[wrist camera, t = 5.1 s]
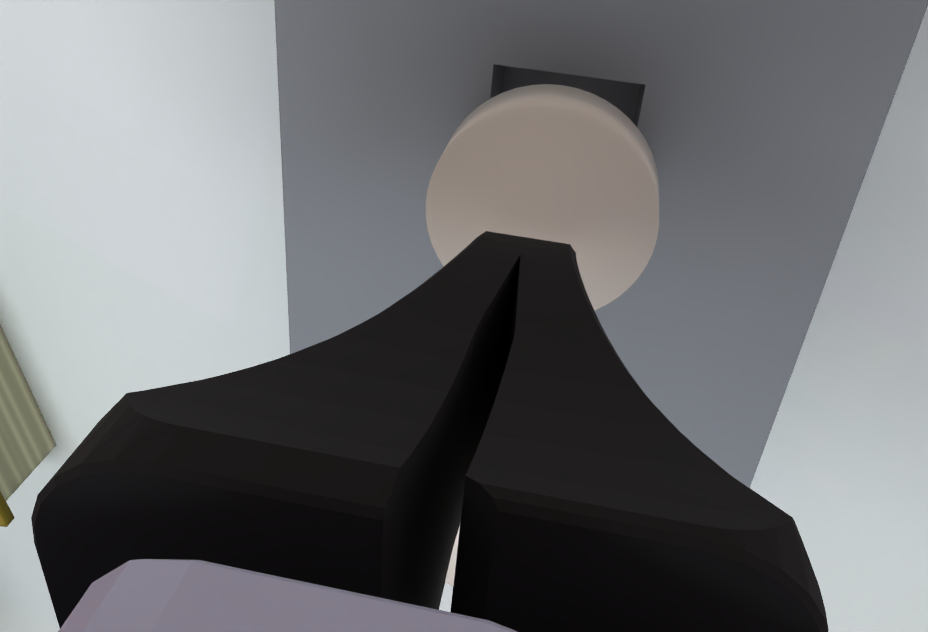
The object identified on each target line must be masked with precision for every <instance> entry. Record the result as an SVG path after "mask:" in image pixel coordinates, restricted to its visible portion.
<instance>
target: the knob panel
mask: <svg viewBox="0 0 928 632" xmlns="http://www.w3.org/2000/svg"><path fill="white" fill-rule="evenodd" d="M927 6H928V0H275V21H276V44H277V66H278V89H279V111H280V134H281V156H282V179H283V201H284V224H285V246H286V268H287V291H288V313H289V336H290V354H292V353H295V352H297V351H300V350H302V349H305V348H307V347H310V346H312V345H315V344H317V343H320V342H323V341H325V340H328V339H330V338H332V337H334V336H337V335H339V334H341V333H343V332H345V331H347V330H349V329H351V328H353V327H355V326H357V325H359V324H361V323H363V322H365V321H366V320H368V319H370V318H372V317H374V316H375V315H377V314H379V313H380V312H382V311H384V310H385V309H387V308H388V307H390V306H391V305H392V304H394V303H395V302H397V301H398V300H400V299H401V298H403V297H404V296H406V295H407V294H409V293H410V292H412V291H413V290H414V289H416V288H417V287H418V286H420V285H421V284H422V283H424V282H425V281H426V280H427V279H429V278H430V277H431V276H433V275H434V274H435V273H436V272H438V271H439V270H440V269H441V268H443V267H444V266H443V265H442V263H441V262H440V260H439V258H438V257H437V255H436V252H435V250H434V248H433V246H432V243H431V240H430V236H429V233H428V229H427V222H426V197H427V190H428V186H429V182H430V179H431V176H432V174H433V171H434V169H435V167H436V165H437V163H438V161H439V159H440V157H441V155H442V154H443V152H444V150H445V148H446V146H447V144H448V143H449V141H450V139H451V137H452V136H453V134H454V133H455V131H456V129H457V128H458V126H459V125H460V124H461V123H462V122H463V121H464V119H465V118H466V117H467V116H468V115H469V114H470V113H471V112H472V111H474V110H475V109H476V108H477V107H478V106H480V105H481V104H483V103H484V102H486V101H487V100H489V99H490V98H492V97H495V96H497V95H499V94H501V93H503V92H506V91H509V90H512V89H515V88H518V87H524V86H529V85H539V84H553V85H564V86H569V87H574V88H578V89H581V90H584V91H587V92H590V93H593V94H595V95H597V96H599V97H601V98H603V99H605V100H606V101H608V102H609V103H611V104H612V105H614V106H615V107H617V108H618V109H619V110H620V111H622V112H623V113H624V114H625V115H626V116H627V117H628V118H629V119H630V120H631V121H632V122H633V123H634V124H635V126H636V127H637V128H638V129H639V130H640V132H641V134H642V135H643V137H644V138H645V140H646V141H647V143H648V146H649V148H650V150H651V152H652V154H653V157H654V161H655V164H656V168H657V174H658V181H659V229H658V236H657V241H656V244H655V247H654V250H653V253H652V255H651V258H650V260H649V262H648V264H647V266H646V267H645V269H644V270H643V272H642V273H641V275H640V276H639V278H638V279H637V280H636V281H635V282H634V283H633V284H632V285H631V287H630V288H628V289H627V290H626V291H625V292H624V293H623V294H622V295H620V296H619V297H618V298H616V299H615V300H613V301H612V302H610V303H609V304H607V305H605V306H603V307H601V308H599V309H597V310H595V313H596V315H597V317H598V319H599V321H600V324H601V326H602V327H603V329H604V331H605V333H606V335H607V337H608V339H609V340H610V342H611V344H612V346H613V347H614V349H615V351H616V352H617V354H618V356H619V357H620V359H621V361H622V362H623V364H624V365H625V367H626V368H627V370H628V371H629V373H630V374H631V376H632V377H633V378H634V380H635V381H636V382H637V384H638V385H639V386H640V388H641V389H642V390H643V392H644V393H645V394H646V396H647V397H648V398H649V399H650V400H651V402H652V403H653V404H654V405H655V406H656V407H657V408H658V409H659V410H660V411H661V412H662V413H663V414H664V415H665V417H666V418H667V419H668V420H669V421H670V422H671V423H672V424H673V425H674V426H675V427H676V428H677V429H678V430H679V431H680V432H681V433H682V434H683V435H684V436H685V437H686V438H688V439H689V440H690V441H691V442H692V443H693V444H694V445H695V446H696V447H697V448H698V449H700V450H701V451H702V452H703V453H704V454H706V455H707V456H708V457H709V458H710V459H712V460H713V461H714V462H715V463H717V464H718V465H719V466H720V467H721V468H723V469H724V470H725V471H726V472H727V473H729V474H730V475H731V476H733V477H734V478H735V479H737V480H738V481H740V482H741V483H743V484H744V485H746V486H747V487H748V488H750V485H751V482H752V480H753V477H754V474H755V472H756V469H757V466H758V463H759V461H760V458H761V455H762V453H763V450H764V447H765V444H766V442H767V439H768V436H769V434H770V431H771V428H772V425H773V423H774V420H775V417H776V415H777V412H778V409H779V407H780V404H781V401H782V398H783V396H784V393H785V390H786V388H787V385H788V382H789V379H790V377H791V374H792V371H793V369H794V366H795V363H796V360H797V358H798V355H799V352H800V350H801V347H802V344H803V341H804V339H805V336H806V333H807V331H808V328H809V325H810V323H811V320H812V317H813V314H814V312H815V309H816V306H817V304H818V301H819V298H820V295H821V293H822V290H823V287H824V285H825V282H826V279H827V276H828V274H829V271H830V268H831V266H832V263H833V260H834V257H835V255H836V252H837V249H838V247H839V244H840V241H841V239H842V236H843V233H844V230H845V228H846V225H847V222H848V220H849V217H850V214H851V211H852V209H853V206H854V203H855V201H856V198H857V195H858V192H859V190H860V187H861V184H862V182H863V179H864V176H865V174H866V171H867V168H868V165H869V163H870V160H871V157H872V155H873V152H874V149H875V146H876V144H877V141H878V138H879V136H880V133H881V130H882V127H883V125H884V122H885V119H886V117H887V114H888V111H889V108H890V106H891V103H892V100H893V98H894V95H895V92H896V90H897V87H898V84H899V81H900V79H901V76H902V73H903V71H904V68H905V65H906V62H907V60H908V57H909V54H910V52H911V49H912V46H913V43H914V41H915V38H916V35H917V33H918V30H919V27H920V24H921V22H922V19H923V16H924V14H925V11H926V8H927Z"/></svg>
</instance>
